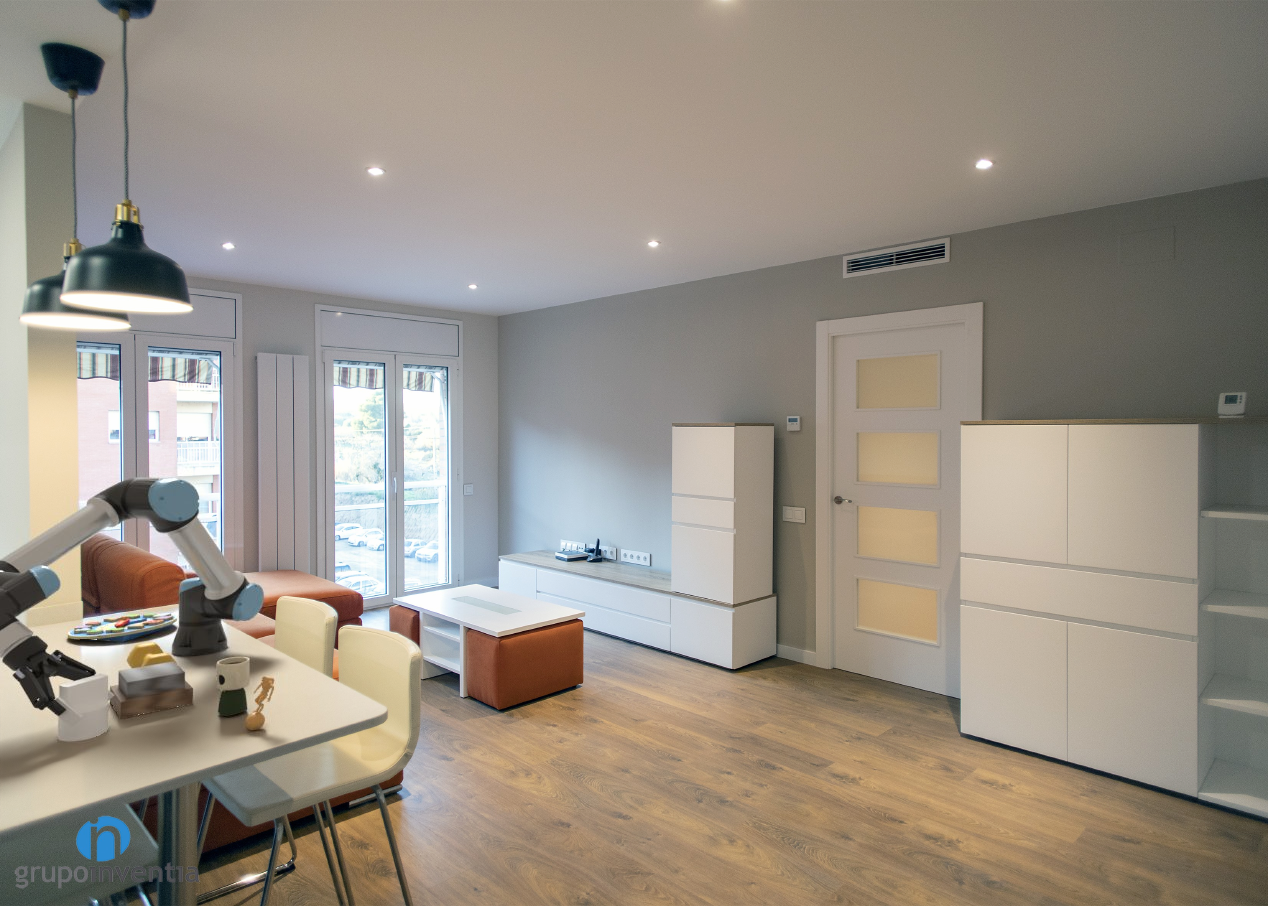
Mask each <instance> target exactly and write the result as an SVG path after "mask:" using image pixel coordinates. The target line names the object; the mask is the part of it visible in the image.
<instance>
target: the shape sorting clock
mask: <svg viewBox="0 0 1268 906" xmlns="http://www.w3.org/2000/svg"><path fill="white" fill-rule="evenodd" d="M177 621H178V617H177V615H174V614H172V613H171V612H166V613H155V612H154V613H153V612H151V613H150V612H147V613H143V614H142V615H141V614H137V613H136V614H125V615H122V616H119V617H106V618H103V621H90V622H89V621H88V622H85V624H84V625H78V626H74V627H73V629H72V630H69V631H68V632H67V638H68V639H71V640H80V639H97V640H110V641H109V642H114V641H119V642H118V643H124V641H125V642H128V641H131V640H134V639H137V638H140V637H143V635H144V636H146V634H147V635H150V634H153V633H156V632H159V631H162V630H165V629H168V628H171V627H172V626H173V625H174V623H176V622H177ZM130 639H131V640H130ZM97 640H96V641H97ZM127 640H128V641H127Z"/></svg>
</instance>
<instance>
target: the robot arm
mask: <svg viewBox="0 0 1268 906" xmlns="http://www.w3.org/2000/svg"><path fill="white" fill-rule="evenodd" d="M199 500H200V495H199V492H198V490H197V489H196V487H195V486H194V485H193V484H191V482H188V481H186V480H184V479H181V478H177V477H176V478H175V477H145V476H141V477H140V476H137V477H131V478H128V479H125V480H122V481H119V482H117V483H115V484H114V485H111V486H110V487H108V488H106V489H104V490H102V491H100V492H99V493H97V494H95V495H94V496H92V497H90V498H89V499H88V500H87V501H86V505H85V506H84V507H82V508H81V509H79V510H77V511H76V512H74V513H72V514H71V515H69V516H67V517H66V518H65V519H63V520H61V521H60V522H58V523H57V524H55V525H53V526H52V527H50V528H48V529H46V530H45V531H44V532H42V533H40V534H39V535H37V536H36V537H34V538H32V539H31V540H29V541H28V542H26V543H24V544H23V545H21V546H20V547H18V548H16V549H15V550H13V551H12V552H10V553H9V554H7V555H5V556H4V557H2V558H1V559H0V659H2V660H1V661H2V663H3V664H4V665H6V667H8V668H9V669H10V670H11V671H13V672H14V673H12V677H13V678H14V679H15V680H16V681H17V682H18V683H19V685H20V686H21V688H22V689H23V691H24V693H25V695H26V696H27V698H28V700H29V702H30V703H31V706H32V707H33V708H34V709H38V710H40V711H44V710H45V709H46V708H47V709H48V710H50V711H51V712H52V713H53V714H54V715H55V716H57V718H58V717H60V718H61V719H62V720H63V721H64V722H66V723H67V724H68V725H69V726H70V727H72V726H73V725H74V724H76V723H77V722H78V721H79V720H80V719H81V718H82V717H83V716H82V715H81V714H80V713H78V712H77V711H76V710H75V709H74V708H72V707H71V706H70V705H69V704H68V703H66V702H65V701H64V700H63V699H62V698H60V697H59V696H58V697H57V698H56V695H55V691H54V689H53V685H52V682H51V679H50V678H51V677H54V678H56V677H60V678H63V679H66V680H70V681H72V682H73V681H76V680H80V679H83V678H87V677H91V676H94V675H97V671H96V670H95V668H92V667H91V666H88V665H86V664H84V663H82V662H80V661H78V660H77V659H74V658H73V657H70V656H68V655H66V654H65V653H63V652H62V651H60V650H58V649H55V650H54V651H53V652H52V653H51V654H50V653H48V652H47V649H48V648H49V647H48V643H47V642H45V641H44V640H43V639H42V638H40V636H38V635H34V631H32V630H31V629H30V628H29V627H28V626H26V625H25V624H24V623H23V622H21V621H20V620H19V619H18V618H17V617H19V616H20V615H21V614H23V613H25V612H27V611H29V610H30V609H31V608H33V607H35V606H37V605H38V604H40V603H41V602H43V601H45V600H47V599H48V598H49V597H50V596H52V595H54V594H55V593H57V591H59V590H60V588H61V584H62V583H61V580H60V578H59V575H58V574H57V573H56V572H55V571H54V570H53V569H52V568H50V567H49V566H51V565H53V564H55V562H57V561H58V560H60V559H61V558H63V557H64V556H66V555H68V553H71V552H72V551H73V550H75V549H76V548H78V547H79V546H81V545H82V544H84V543H85V542H87V541H89V540H90V539H91V538H93V537H95V536H96V535H97V534H100V533H101V532H102V531H104V530H105V529H106V528H114V527H115V528H116V527H117V526H118V525H119V524H121V523H123V522H126V521H128V520H133V519H139V520H148V521H149V522H150V524H151V525H152V526H153V528H154V529H155V531H156V532H157V533H159V534H167V536H168V538H169V539H170V540H171V542H172V543H173V544H174V546H175V547H176V548H177V550H178V551H179V552H180V554H181V555H182V557H183V558H184V559H185V561H186V562H187V564H188V565H189V566H190V568H192V570H193V571H194V573H195V574H196V575H197V577H191V578H187V579H184V580H182V581H181V582H180V584H179V590H178V591H179V592H178V627H177V631H176V633H175V636H174V639H173V641H172V644H171V653H172V654H173V655H175V656H182V657H183V656H184V657H185V656H188V657H189V656H192V657H193V656H202V655H208V654H213V653H217V652H220V651H223V650H225V649H226V648H228V637H227V635H226V633H225V629H224V627H223V623H222V620H226V621H234V622H247V621H251V620H252V619H253V618H255V617H256V616H257V615H258V613H260V611H261V609H262V607H263V605H264V600H265V599H264V598H265V592H264V589H263V588H262V586H261V585H260V584H257V583H256V582H251V583H250V581H248V579H247V578H246V576H245V574H243V572H242V571H239V570H234V569H233V567H232V566H231V564H230V562H229V561H228V560H227V559H226V557H225V555H224V554H223V552H222V551H221V550H220V549H219V547H218V545H217V544H216V543H215V541H214V539H212V536H211V535H210V534H209V532H208V531H207V530H206V528H205V526H204V525H203V524H202V522H201V521H200V519H199V514H200V510H199V508H200V502H199ZM113 696H114V694H113V693H112V692H110V689H108V702H110V699H111V698H112V697H113Z"/></svg>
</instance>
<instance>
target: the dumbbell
mask: <svg viewBox="0 0 1268 906" xmlns="http://www.w3.org/2000/svg"><path fill="white" fill-rule="evenodd" d="M173 661H174V662H175V663H176V664H177V665H178V663H177V661H176V660H175V658H174V657H173V656H172V655H171V654H169V653H167V652H164V651H163V649H162V648H161V647H160V646H159V644H158V643H156V642H154V641H151V642H149V641H148V642H144V643H138V644H136V645H135V646H134V647H133V648H132V650H131V651H130V653H129V655H127V658H126V662H127V664H128V665H129V666H130V669H132V668H138V667H144V666H150V665H156V664H162V663H167V662H173ZM178 666H179V665H178Z"/></svg>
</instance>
